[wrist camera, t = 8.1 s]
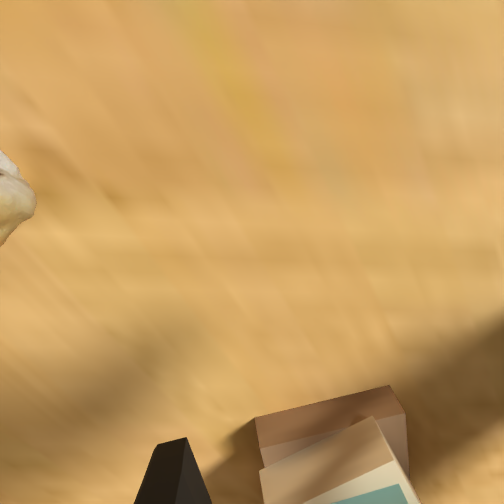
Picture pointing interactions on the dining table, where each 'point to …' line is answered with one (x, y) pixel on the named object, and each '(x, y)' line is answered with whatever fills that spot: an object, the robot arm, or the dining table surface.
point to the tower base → (333, 424)
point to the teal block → (379, 497)
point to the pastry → (13, 198)
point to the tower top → (337, 469)
